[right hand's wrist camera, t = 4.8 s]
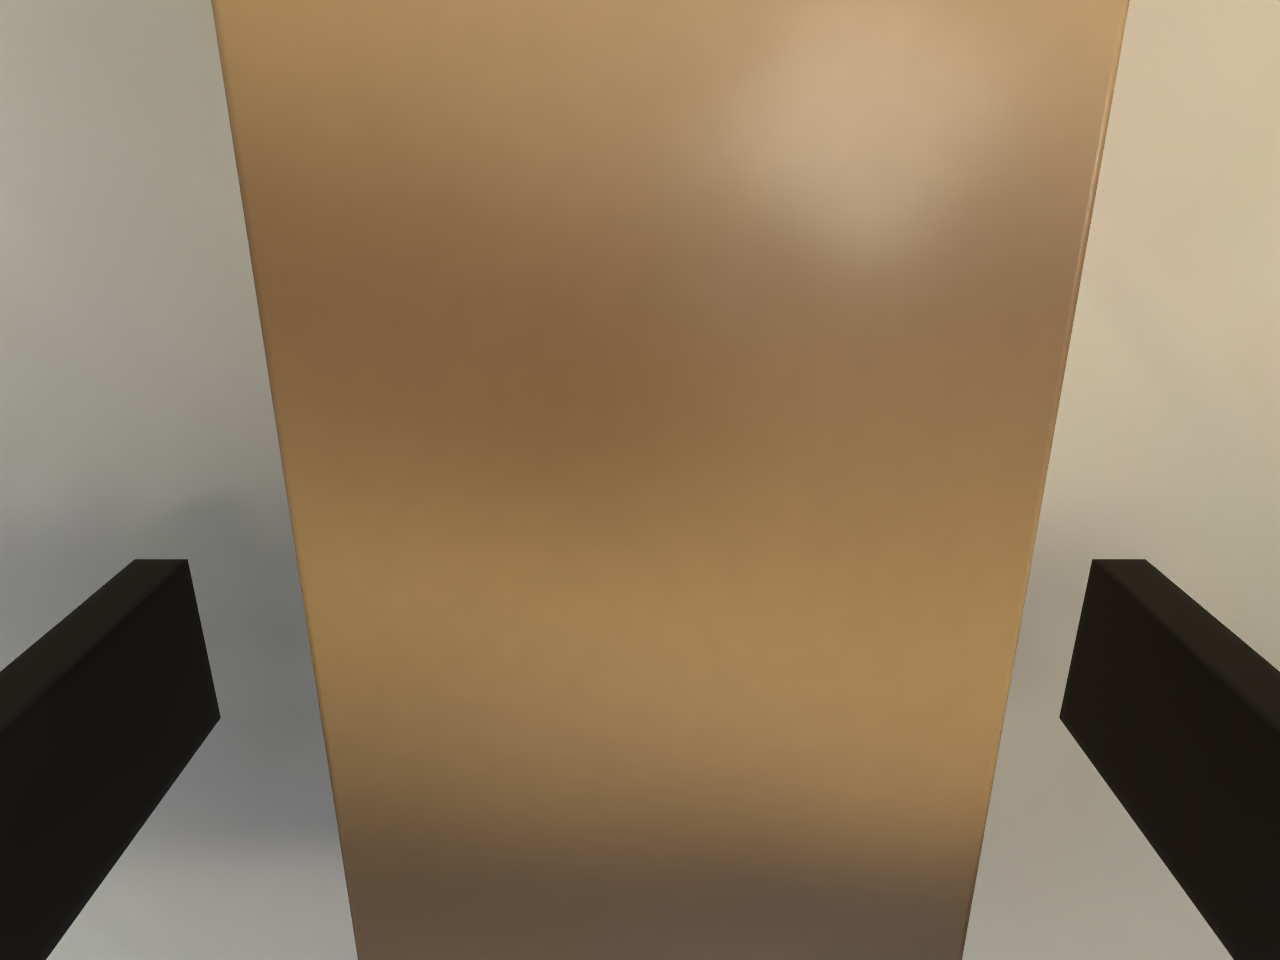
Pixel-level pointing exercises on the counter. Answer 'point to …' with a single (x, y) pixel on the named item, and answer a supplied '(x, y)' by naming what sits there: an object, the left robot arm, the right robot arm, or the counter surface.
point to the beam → (665, 446)
